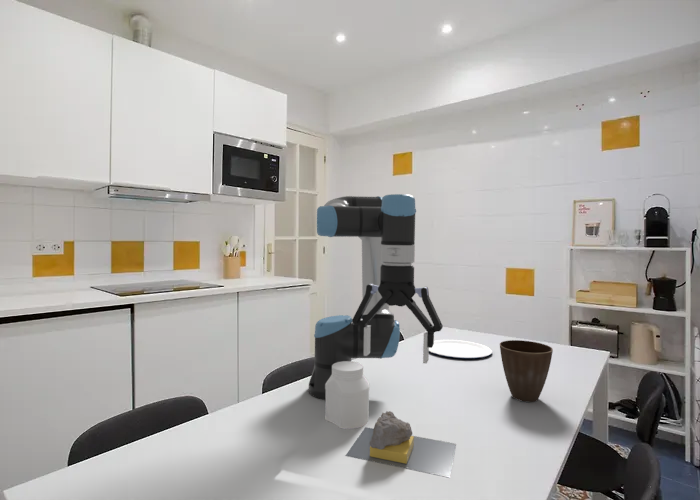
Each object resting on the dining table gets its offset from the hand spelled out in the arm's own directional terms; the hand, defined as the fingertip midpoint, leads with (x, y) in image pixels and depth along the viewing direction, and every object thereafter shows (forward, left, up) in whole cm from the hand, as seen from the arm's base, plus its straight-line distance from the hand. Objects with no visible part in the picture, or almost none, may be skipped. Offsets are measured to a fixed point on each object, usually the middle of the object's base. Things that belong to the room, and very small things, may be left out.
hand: (395, 358), depth 89 cm
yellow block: (0, +1, -19) cm, 19 cm away
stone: (-1, -3, -18) cm, 18 cm away
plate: (+6, +92, -22) cm, 95 cm away
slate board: (+2, -1, -21) cm, 21 cm away
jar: (-15, +9, -21) cm, 28 cm away
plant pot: (+30, +45, -21) cm, 58 cm away
